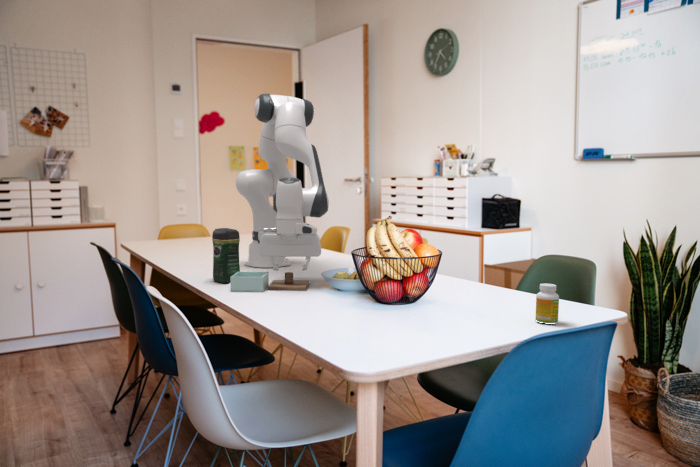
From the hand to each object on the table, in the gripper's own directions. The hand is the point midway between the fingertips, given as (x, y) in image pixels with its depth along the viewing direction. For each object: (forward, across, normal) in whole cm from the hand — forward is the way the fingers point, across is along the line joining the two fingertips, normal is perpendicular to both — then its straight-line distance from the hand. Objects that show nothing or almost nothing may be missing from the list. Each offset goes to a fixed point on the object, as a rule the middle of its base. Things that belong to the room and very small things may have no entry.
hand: (290, 270), depth 187 cm
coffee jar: (+6, -24, +10) cm, 26 cm away
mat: (+6, -1, 0) cm, 6 cm away
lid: (+6, -1, 0) cm, 6 cm away
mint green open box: (+6, -13, -4) cm, 14 cm away
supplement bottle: (+7, +70, -41) cm, 82 cm away
